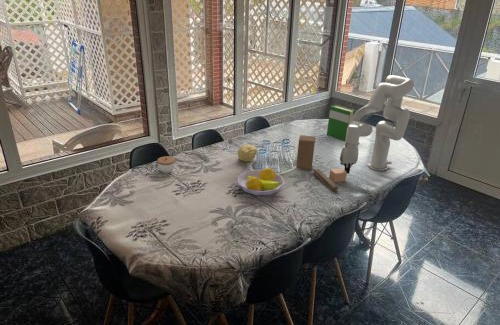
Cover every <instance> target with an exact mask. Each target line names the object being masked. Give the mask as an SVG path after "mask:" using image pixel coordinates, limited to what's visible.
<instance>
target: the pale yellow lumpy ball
mask: <svg viewBox="0 0 500 325" xmlns="http://www.w3.org/2000/svg"><path fill="white" fill-rule="evenodd" d="M257 151H258V149H257V147H256V146H255V145H254V146H253V145H251V144H244V145H240V147H239V149H238V151H237V157H238V159H239V160H240V161H242V162H244V163H250V162H252V161H253V160H254V159H255V157H256V155H257V154H258V152H257ZM256 153H257V154H256Z"/></svg>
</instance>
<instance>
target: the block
mask: <svg viewBox="0 0 500 325" xmlns="http://www.w3.org/2000/svg"><path fill="white" fill-rule="evenodd" d="M347 175H348V174H347V172H346V171H345V170H344V168H342V167H341V168H331V169H330V171H329V176H328V178H329V179H330V180H331V181H332V182H335V183H342V182H341V181H343V182H346V180H347Z"/></svg>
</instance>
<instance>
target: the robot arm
mask: <svg viewBox="0 0 500 325" xmlns="http://www.w3.org/2000/svg"><path fill="white" fill-rule="evenodd" d="M414 86H415V82H414V80H413V79H411V78H407V77H403V76H399V75H393V74H390V75H387V76H386V78H385V81H384V82H380V83H379V84H377V86H376V88H375V89H374V91H373V93H372V95H371V97H370V98H369V101H368V102H367V103H366V105H364V106H362V107H360V108H359V109H358V110H356V111H355V114H354V115H353V117H352V119H351V121H350V123H349V125H348V128H347V134H346V140H345V141H344V145H343V147H342V149H341V152H340V154H339V161H340V162H339V163H340V165H341V166H343V167H344V168H343V169H344V170H345V171H346V172H347V175H348V174H350V171H351V168H352V167H353V165H355V164H357V162H358V160H359V145H360V138H361V137H369V136H370V135H371V134H372V133H373V129H374V128H373V126H372V125H371V124H369V123H365V121H361V119H362V118H363V117H364V116H367V115H368V114H369V115H370V114H373V113H378V112H381V111H382V109H383V106H384V105H385V106H384V109H383V113H382V115H383V118H384V119H386V120H379V122H377V123H376V125H375V138H374V144H373V148H372V154H371V159H370V161H369V162H368V163H367V167H368V168H369V169H371V170H374V171H378V172H383V171H384V170H385V171H387V170H388V167H389V166H388V165H392V164H393V161H391V160H390V161H388V157H389V151H390V147H391V140H393V141H397V142H398V141H401V139H402V138H403V137H404V134H405V133H406V130H407V127H408V124H409V121H410V119H411V118H410V117H411V112H410V109H408V108H406V107H402V103H403V100H404V97H405V96H406V95H408V94H410V93H411V92H412V90H413V89H414ZM387 120H388V121H387ZM390 121H392V122H390ZM393 122H395V123H393Z"/></svg>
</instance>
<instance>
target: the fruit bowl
mask: <svg viewBox="0 0 500 325" xmlns="http://www.w3.org/2000/svg"><path fill="white" fill-rule="evenodd" d="M237 183H238V185H239V186H240V188H241V189H242V190H243V192H244V193H248V194H251V195H255V196H271V195H274V194H275V193H277V192H280V190H282V188H283V186H284V185H285V182H284V178H283V176H282V175H280V174H278V173H276V172H275V170H273V169H272V168H270V167H267V168H265V169H254V170H253V169H252V170H246V171H244V172H243V173H241V174H240V175H238V176H237Z"/></svg>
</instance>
